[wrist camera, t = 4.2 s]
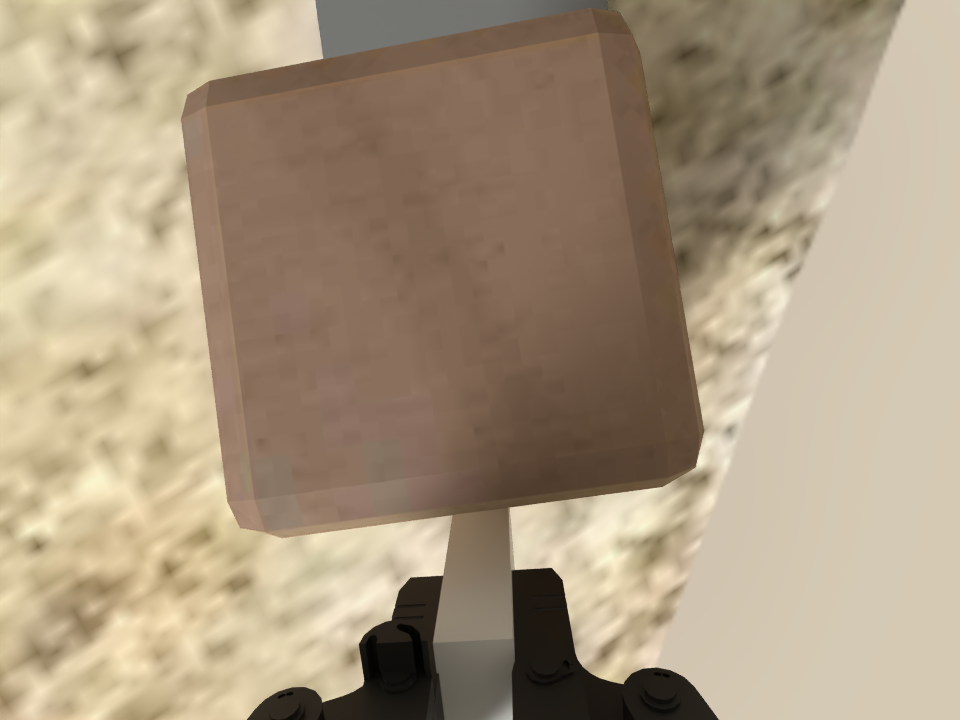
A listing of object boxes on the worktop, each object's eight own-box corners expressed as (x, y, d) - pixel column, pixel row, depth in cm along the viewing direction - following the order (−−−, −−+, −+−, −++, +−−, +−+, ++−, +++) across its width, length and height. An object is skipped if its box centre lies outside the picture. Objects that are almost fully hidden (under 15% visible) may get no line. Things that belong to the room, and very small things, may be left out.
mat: (290, -206, 27) (285, -216, 26) (595, -247, 26) (597, -257, 26) (353, 253, 32) (350, 254, 31) (612, 230, 31) (614, 230, 31)
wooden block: (567, 237, 31) (641, -27, 11) (597, 423, 31) (729, 488, 11) (385, 267, 32) (153, 68, 12) (410, 450, 31) (212, 557, 11)
